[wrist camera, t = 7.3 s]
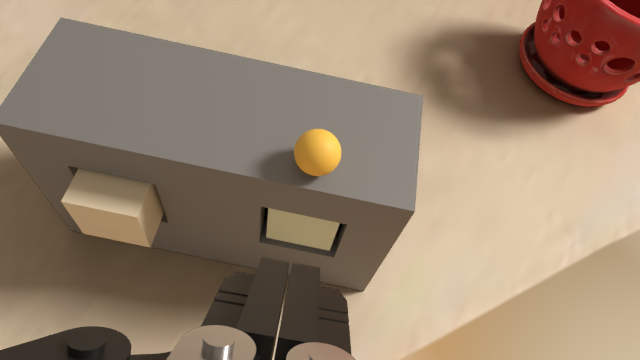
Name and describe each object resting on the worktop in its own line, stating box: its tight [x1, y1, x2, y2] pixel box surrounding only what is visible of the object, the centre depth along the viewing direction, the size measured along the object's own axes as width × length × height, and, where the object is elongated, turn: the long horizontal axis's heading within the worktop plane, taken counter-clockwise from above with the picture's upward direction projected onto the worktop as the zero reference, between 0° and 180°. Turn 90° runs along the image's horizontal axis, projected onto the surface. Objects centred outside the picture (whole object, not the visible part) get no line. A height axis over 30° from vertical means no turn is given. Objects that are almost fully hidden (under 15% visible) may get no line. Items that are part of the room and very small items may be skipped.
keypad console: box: [0, 18, 423, 291], centre depth 31 cm, size 8×22×15 cm, turn 81°
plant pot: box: [519, 0, 640, 106], centre depth 46 cm, size 13×13×12 cm
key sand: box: [61, 168, 164, 247], centre depth 29 cm, size 4×4×4 cm
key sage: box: [266, 208, 340, 251], centre depth 31 cm, size 4×4×4 cm
